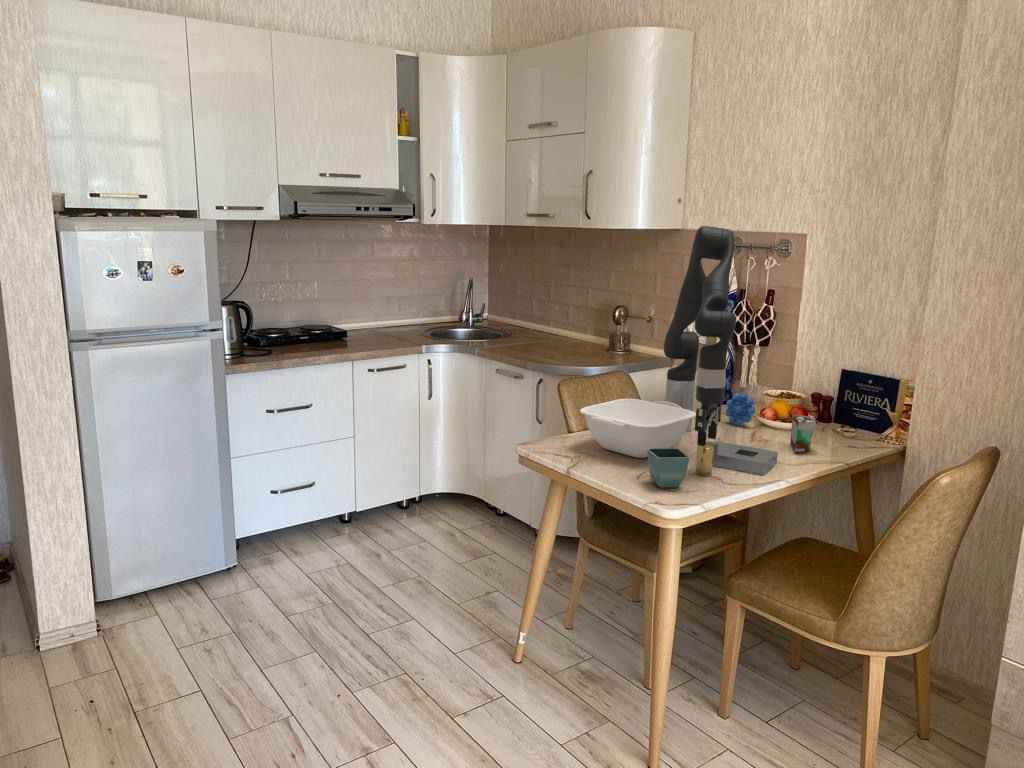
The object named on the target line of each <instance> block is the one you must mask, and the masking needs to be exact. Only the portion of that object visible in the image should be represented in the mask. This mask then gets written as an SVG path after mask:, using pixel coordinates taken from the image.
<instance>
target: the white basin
mask: <svg viewBox="0 0 1024 768" xmlns="http://www.w3.org/2000/svg"><path fill="white" fill-rule="evenodd" d="M579 413H581V415H584V417H585V421H586V425H587V427H588V430H589V432H590V434H591V436H592V437H593V438H594V440H595V441H596V442H597V443H598V444H599V445H600V446H601V447H602V448H603V449H606V450H607V451H611V452H615V453H619V454H623V455H626V456H630V457H633V458H637V459H645V458H648V450H647V449H650V448H673V447H674V446H676V445H677V443H679V441H680V440H681V439H682V438H683V436H684V435H685V433H686V432H685V431H686V429H687V426H688V424H689V421H690V419H691V418H692V419H693V418H696V411H694V410H693V411H690V410H687V409H682V407H680V406H678V405H677V404H674V403H671V402H666V401H664V400H660V401H658V400H657V401H648V400H643V399H637V398H620V399H613V400H610V401H606V402H601V403H597V404H593V405H589V406H584V407H582V408H580V410H579Z"/></svg>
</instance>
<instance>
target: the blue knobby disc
mask: <svg viewBox="0 0 1024 768" xmlns="http://www.w3.org/2000/svg"><path fill="white" fill-rule="evenodd" d="M731 398H732V399H728V400H727V401H726V407H727V408H726V409H725V411H724V414H725V416H726V417H729V418H728V422H729V423H730V424H732V425H733V424H735V425H736V426H738V427H741V426H743V425H744V424H745V423H746V424H749V423H750V422H751V421H752V416H753V415H754V414H755V413H756V408H755V407H754V405H755V399H754V398H752V397H749V394H748V393H746V392H742V393H741V394H740V393H734V394H733V395H732V397H731Z"/></svg>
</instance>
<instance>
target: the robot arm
mask: <svg viewBox="0 0 1024 768" xmlns="http://www.w3.org/2000/svg"><path fill="white" fill-rule="evenodd" d="M692 244H693V245H692V249H691V254H690V256H689V257H690V258H689V262H688V267H687V270H686V274H685V277H684V280H683V283H682V286H681V288H680V292H679V295H678V299H677V303H676V307H675V311H674V315H673V318H672V319H671V323H670V325H669V328H668V330H667V333H666V335H665V337H664V342H663V353H664V355H665V357H666V358H668V359H671V360H683V362H682V363H681V364H679V365H677V366H675V367H672V368H670V369H668V370H667V372H666V385H665V386H666V389H665V399H664V400H663V401H666V402H671V403H674V404H677V405H678V406H680V407H682V409H687V410H690V411H693V412H694V401H695V400H696V401H697V402H700V404H701V406H700V408H696V410H695V413H696V416H695V420H694V431H696V432H697V441H696V443H697V446H698V445H700V446H705V445H706V442H707V438H708V439H711V440H716V439H717V430H718V426H719V423H721V421H722V419H721V418H722V404H723V403H724V401H725V391H726V379H727V377H726V376H727V375H726V373H727V372H726V367H727V354H728V349H729V346H730V343H731V339H732V338H733V335H734V333H735V329H736V327H737V326H736V325H737V319H736V316H735V314H734V313H733V312H731V311H728V310H727V308H728V307H729V302H730V301H729V281H730V277H731V276H730V274H731V268H732V263H733V257H734V256H733V255H734V250H735V248H734V247H735V235H734V232H733V231H732V230H731V229H728V228H723V227H716V226H715V227H714V226H711V225H710V226H709V225H702V226H700V227H699V228H698V229H697V230H696V233H695V236H694V239H693V242H692ZM702 259H708V260H716V261H719V263H718V265H716V267H715V268H714V269H713V270H712V271H710V273H708V275H706V273H705V270H704V267H703V263H702ZM693 323H694V329H695V331H685V330H686V329H687V328H688V327H690V325H692V324H693ZM699 336H700V337H706V338H720V339H719V341H718V342H715V343H714V344H707V345H704V346H702V347H700V338H699ZM699 348H700V349H699ZM698 357H699V359H698ZM698 360H699V361H698ZM697 367H698V371H697ZM696 374H697V375H696ZM695 380H696V381H695ZM695 387H696V389H695ZM694 398H695V399H694ZM692 425H693V418H691V419H690V421H689V424H688V426H687V429H686V431H685V433H687V432H690V431H692Z"/></svg>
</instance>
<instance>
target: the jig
mask: <svg viewBox="0 0 1024 768" xmlns="http://www.w3.org/2000/svg"><path fill="white" fill-rule="evenodd" d="M706 445H711V446H713V447H714V453H713V465H712V467H718V468H722V469H727V470H731V471H732V470H733V471H737V472H743V473H748V474H754V475H758V476H765V475H766V474H767V473H768V472H770V470H771V469H772V468H773V467H775V465H777V463H778V454H779V452H778V451H775V450H770V449H764V448H758V447H753V446H752V447H751V446H746V445H741V444H735V443H730V442H723V441H718V440H717V441H715V442H714V441H710V440H708V441H706Z"/></svg>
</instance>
